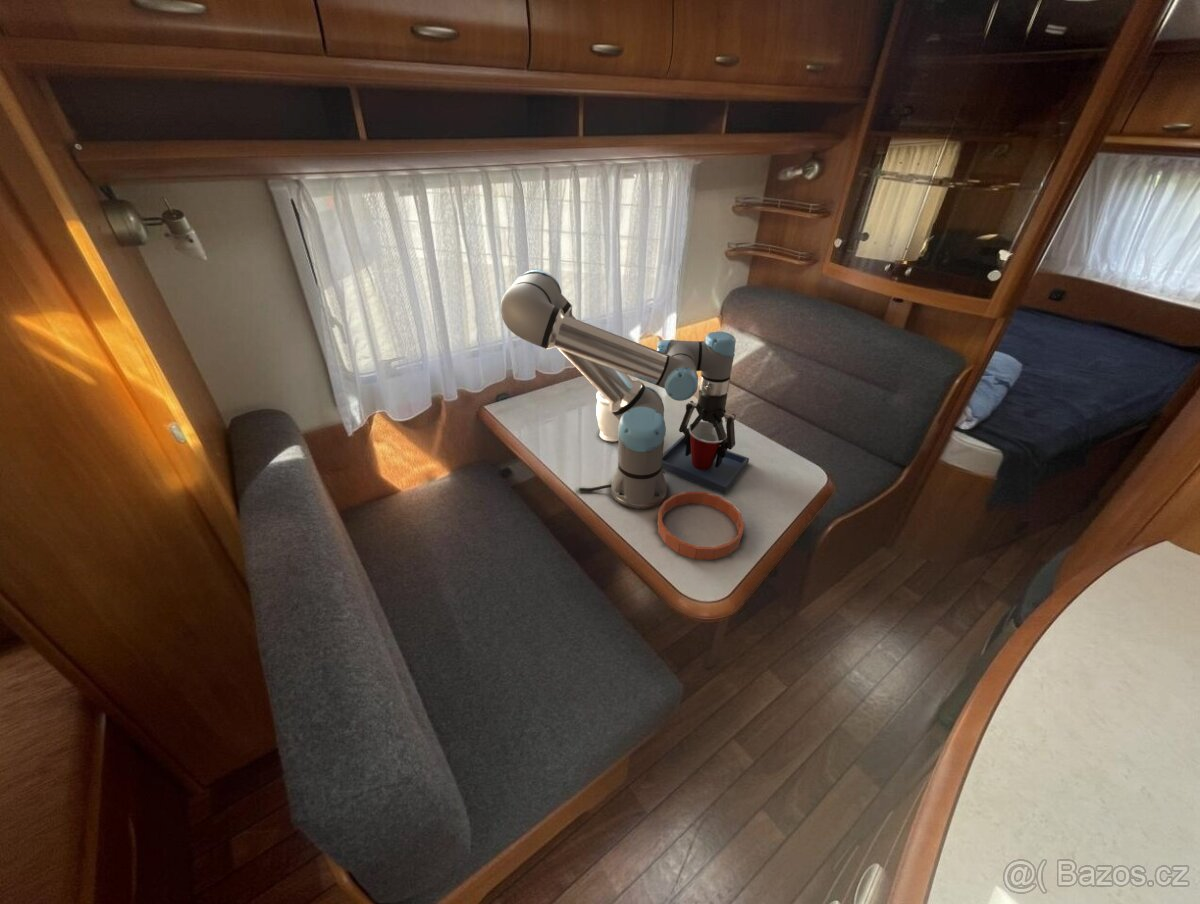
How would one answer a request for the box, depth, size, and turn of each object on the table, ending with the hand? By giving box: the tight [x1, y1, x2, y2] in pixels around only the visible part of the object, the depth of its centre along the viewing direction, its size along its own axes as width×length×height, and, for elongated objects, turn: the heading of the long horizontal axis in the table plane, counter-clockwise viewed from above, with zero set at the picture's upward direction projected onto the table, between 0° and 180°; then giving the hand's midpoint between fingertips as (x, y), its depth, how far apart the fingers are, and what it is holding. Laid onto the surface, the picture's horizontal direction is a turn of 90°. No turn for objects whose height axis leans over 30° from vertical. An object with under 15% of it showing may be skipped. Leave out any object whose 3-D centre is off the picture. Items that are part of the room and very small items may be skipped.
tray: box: [662, 434, 750, 495], centre depth 141 cm, size 22×17×3 cm
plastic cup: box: [688, 420, 727, 470], centre depth 138 cm, size 11×11×12 cm
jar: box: [595, 390, 620, 443], centre depth 151 cm, size 11×10×15 cm
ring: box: [656, 491, 745, 561], centre depth 119 cm, size 21×21×4 cm
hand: (703, 459), depth 140 cm, fingers closed on plastic cup, 9 cm apart
